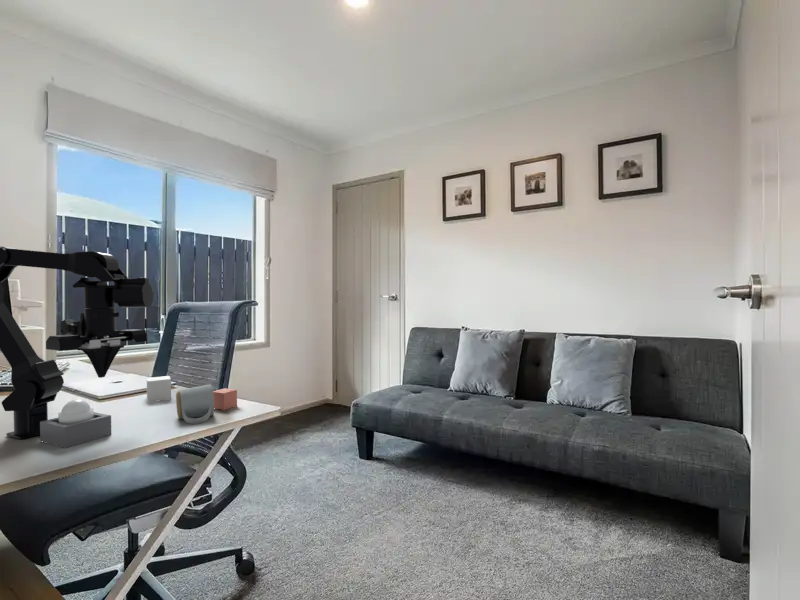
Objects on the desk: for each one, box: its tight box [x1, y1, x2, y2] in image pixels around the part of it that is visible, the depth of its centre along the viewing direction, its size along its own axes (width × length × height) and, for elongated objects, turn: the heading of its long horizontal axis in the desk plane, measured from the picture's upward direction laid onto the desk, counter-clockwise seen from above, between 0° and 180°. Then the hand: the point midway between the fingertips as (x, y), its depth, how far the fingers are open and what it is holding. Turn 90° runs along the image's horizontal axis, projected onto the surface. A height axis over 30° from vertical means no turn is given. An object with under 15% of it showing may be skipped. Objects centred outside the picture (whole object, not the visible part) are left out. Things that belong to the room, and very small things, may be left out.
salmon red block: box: [213, 387, 238, 411], centre depth 116 cm, size 4×4×5 cm
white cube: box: [146, 375, 172, 403], centre depth 127 cm, size 6×6×6 cm
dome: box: [57, 398, 94, 425], centre depth 92 cm, size 6×6×5 cm
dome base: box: [39, 411, 112, 449], centre depth 92 cm, size 9×9×4 cm
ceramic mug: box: [175, 383, 215, 425], centre depth 106 cm, size 11×8×8 cm
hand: (101, 377), depth 97 cm, fingers closed
